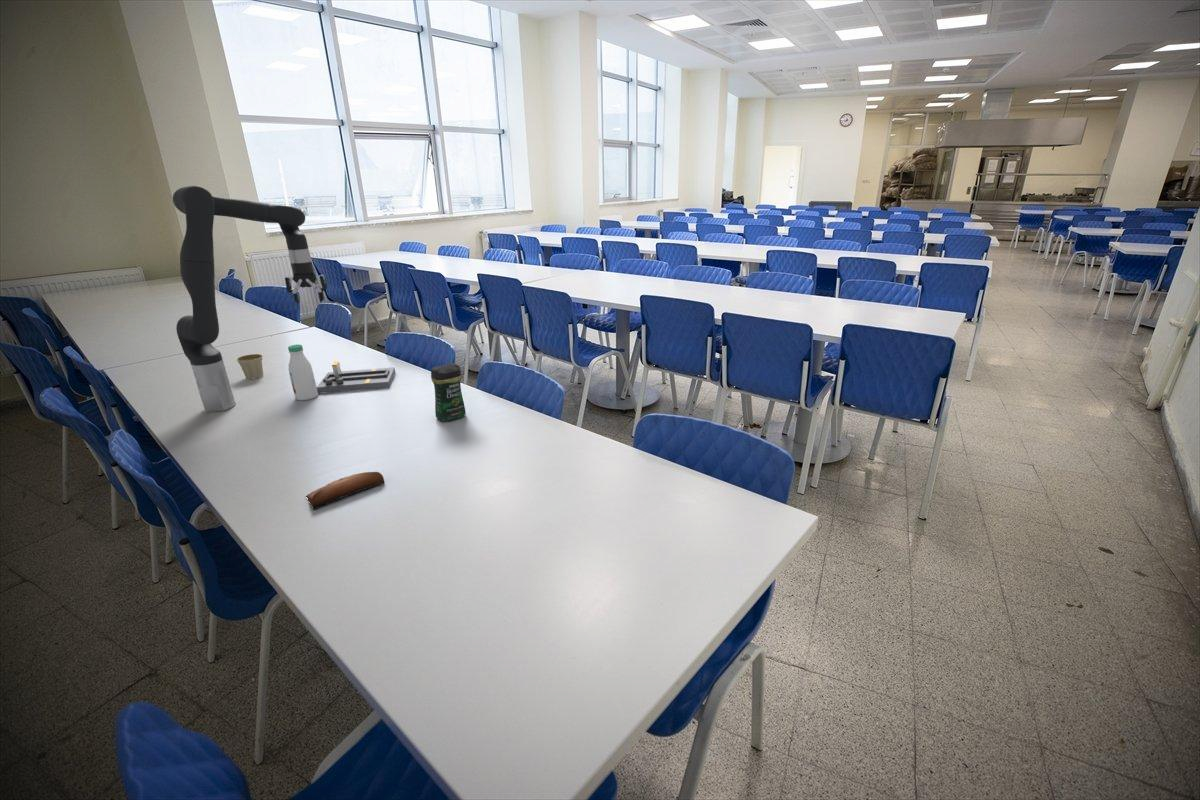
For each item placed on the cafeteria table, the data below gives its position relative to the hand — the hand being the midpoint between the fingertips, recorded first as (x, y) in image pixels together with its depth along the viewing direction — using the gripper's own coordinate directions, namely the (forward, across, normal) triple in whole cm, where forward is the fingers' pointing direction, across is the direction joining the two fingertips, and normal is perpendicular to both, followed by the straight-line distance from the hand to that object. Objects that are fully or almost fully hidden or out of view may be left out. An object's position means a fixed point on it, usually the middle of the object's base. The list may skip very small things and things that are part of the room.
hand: (310, 302), depth 215 cm
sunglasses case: (+30, +25, -104) cm, 111 cm away
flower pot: (+30, -28, +3) cm, 41 cm away
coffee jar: (+30, +52, -62) cm, 86 cm away
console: (+30, +15, -17) cm, 38 cm away
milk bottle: (+30, -1, -28) cm, 41 cm away
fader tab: (+27, +8, -16) cm, 33 cm away
